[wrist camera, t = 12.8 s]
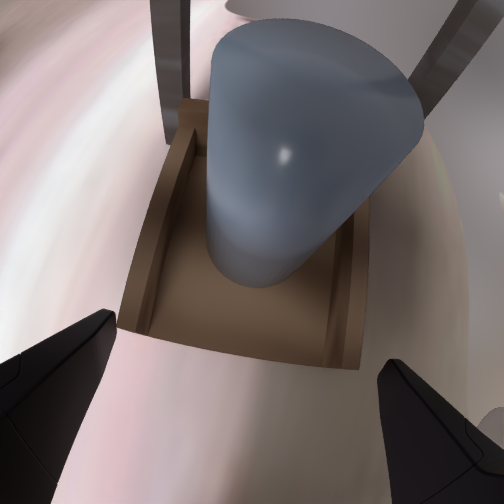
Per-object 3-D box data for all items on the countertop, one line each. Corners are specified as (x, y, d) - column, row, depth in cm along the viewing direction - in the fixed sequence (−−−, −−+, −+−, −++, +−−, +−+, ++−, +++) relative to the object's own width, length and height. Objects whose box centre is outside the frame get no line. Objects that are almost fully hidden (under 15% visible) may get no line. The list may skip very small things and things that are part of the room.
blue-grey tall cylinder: (314, 279, 18) (456, 165, 7) (213, 295, 17) (229, 167, 6) (292, 191, 20) (372, 32, 8) (200, 200, 19) (203, 16, 7)
